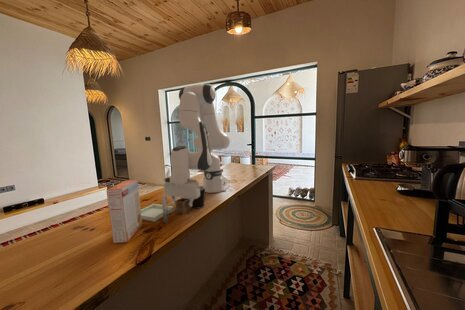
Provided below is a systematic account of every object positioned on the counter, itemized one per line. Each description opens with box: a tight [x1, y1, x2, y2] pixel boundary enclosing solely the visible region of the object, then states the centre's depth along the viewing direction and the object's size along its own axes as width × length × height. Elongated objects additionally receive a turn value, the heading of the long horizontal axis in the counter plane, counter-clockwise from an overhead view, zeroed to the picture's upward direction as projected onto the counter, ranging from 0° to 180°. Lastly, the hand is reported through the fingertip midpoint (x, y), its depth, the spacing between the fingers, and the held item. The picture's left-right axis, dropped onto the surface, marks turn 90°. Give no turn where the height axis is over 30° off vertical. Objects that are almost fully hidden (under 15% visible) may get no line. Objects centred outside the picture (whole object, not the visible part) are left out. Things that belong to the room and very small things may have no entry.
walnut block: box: [174, 197, 192, 214], centre depth 102 cm, size 5×5×6 cm
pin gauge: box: [161, 195, 169, 224], centre depth 90 cm, size 2×2×12 cm
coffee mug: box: [191, 185, 206, 209], centre depth 110 cm, size 12×9×10 cm
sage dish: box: [141, 203, 176, 223], centre depth 100 cm, size 14×14×2 cm
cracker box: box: [106, 179, 143, 244], centre depth 80 cm, size 14×6×21 cm, turn 3°
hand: (182, 205), depth 102 cm, fingers open, 8 cm apart
